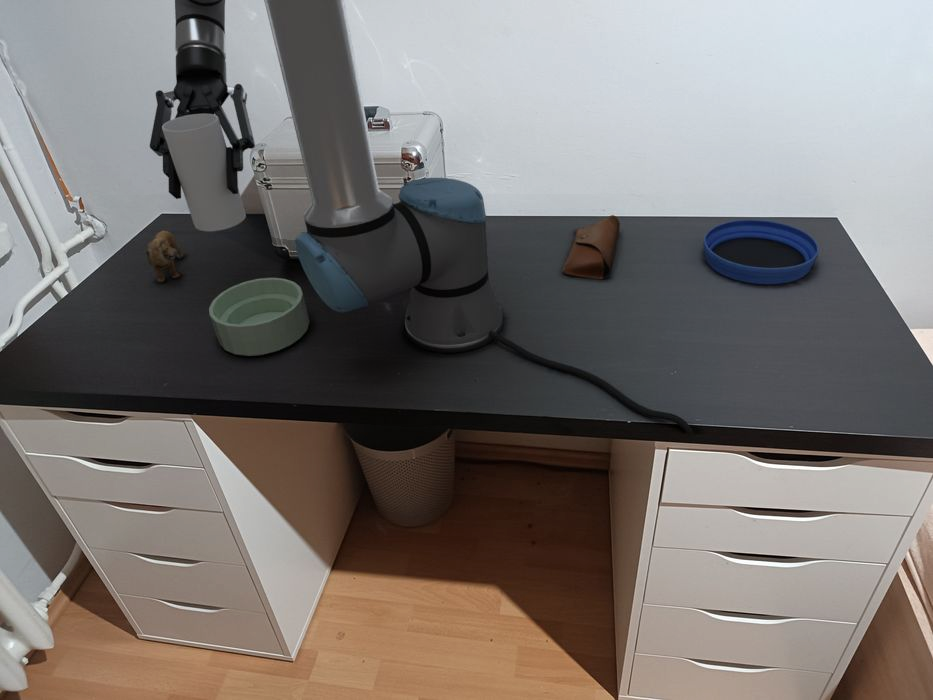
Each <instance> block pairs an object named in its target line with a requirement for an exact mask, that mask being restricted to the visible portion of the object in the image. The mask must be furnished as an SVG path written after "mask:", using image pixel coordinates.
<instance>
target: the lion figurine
mask: <svg viewBox="0 0 933 700" xmlns="http://www.w3.org/2000/svg"><path fill="white" fill-rule="evenodd" d="M176 253H177V255H176ZM145 254H146V258H147V260H148V263H149V265H150V266H152V267H153V270H154V272H155V274H156V275H157V276H158V278H157V282H158V283H163V282H165V281H166V280H165V279H166V276H164V274H163V272H162V270H165V269H167V268H169V273H170V276H171V277H172V278H173V279H177V278H179V277H180V276H181V275H180V274H179V273H178V271H177V270H176V269H177V268H176V266H175V265H176V264H175V261H174V259H175V258H176V257H177V258H178V259H182V258H184V254H183V252H182V249H181V247H180V246H179V245H178V242H177V240H176V238H175V237H174V235H173V234H172V233H171V231H167V230H161V231H160V232H157V233H156V234H155V236H154V238H153V239H151V240H150V241H148V243H147V246H146V251H145Z"/></svg>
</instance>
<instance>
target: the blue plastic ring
mask: <svg viewBox="0 0 933 700" xmlns="http://www.w3.org/2000/svg"><path fill="white" fill-rule="evenodd" d="M702 245H703V250H704V254H705V255H704V256H705V257H704V258H705V261H706V263H707V264H708V265H709V266H710V267H711V268H712V270H714V271H716V273H719V274H720V275H722V276H724V277H726V278H729V279H732V280H734V281H739V282H741V283H750V284H754V285H779V284H786V283H791V282H794V281H798V280H799V279H801V278H803V277H805V276H806V275H807V274H809V272H810V270H811V269H812V266H813V265H814V264H815V262H816V261H817V259H818V256H819V245H818V243H817V241H816V240H815V238H814V237H812V236H811V234H809V233H808V232H806V231H805V230H802V229H800V228H798V227H795V226H792V225H789V224H786V223H782V222H777V221H773V220H772V221H771V220H763V219H738V220H737V219H736V220H731V221H727V222H724V223H719V224H718V225H716V226H714V227H712V228H710V229H709V230H708V231H707V232H706V234H705V235H704V238H703V243H702Z"/></svg>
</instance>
